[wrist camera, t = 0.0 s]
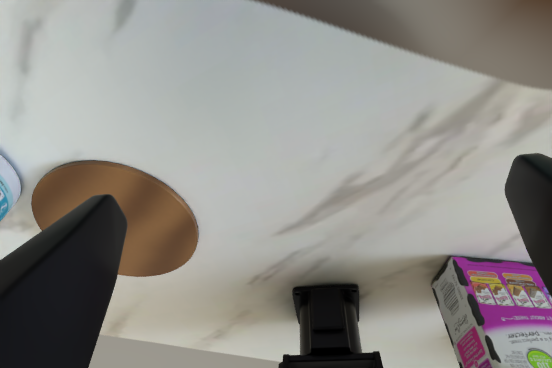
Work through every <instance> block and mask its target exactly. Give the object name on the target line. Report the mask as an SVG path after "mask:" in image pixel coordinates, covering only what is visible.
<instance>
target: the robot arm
mask: <svg viewBox="0 0 552 368" xmlns="http://www.w3.org/2000/svg"><path fill="white" fill-rule="evenodd" d="M505 195H506V198H507V201H508V203H509V206H510V208H511V211H512V214H513V216H514V219H515V221H516V224H517V226H518V229H519V231H520V234H521V237H522V239H523V242H524V244H525V247H526V249H527V251H528V254H529V256H530V258H531V260H532V262H533V264H534V266H535V268H536V270H537V272H538V274H539V275H540V277H541V279H542V281H543V283H544V285H545V287H546V288H547V290H548V292H549V294H550V296H551V298H552V158H550V157H548V156H545V155H543V154H539V153H534V154H523V155H519V156H517V157H516V158H515V159H514V161H513V163H512V166H511V169H510V172H509V175H508V178H507V181H506V184H505ZM127 227H128V223H127V218H126V216H125V214H124V213H123V211H122V209H121V208H120V206H119V204H118V202H117V201H116V199H115V198H114V196H112V195H111V194H101V195H94V196H92V197H90V198H89V199H87V200H86V201H84V202H83V203H82V204H80V205H79V206H77V207H76V208H74V209H73V210H72V211H70V212H69V213H67V214H66V215H64V216H63V217H62V218H60V219H59V220H57V221H56V222H54V223H53V224H52V225H50V226H49V227H47V228H46V229H44V230H43V231H42V232H40V233H39V234H37V235H36V236H34V237H33V238H32V239H30V240H29V241H27V242H26V243H24V244H23V245H22V246H20V247H19V248H17V249H16V250H14V251H13V252H11V253H10V254H9V255H7V256H6V257H4V258H3V259H1V260H0V368H88V367H89V364H90V361H91V358H92V354H93V351H94V348H95V345H96V342H97V339H98V336H99V333H100V330H101V327H102V324H103V321H104V318H105V315H106V312H107V309H108V305H109V302H110V299H111V296H112V293H113V290H114V287H115V283H116V279H117V275H118V270H119V266H120V261H121V256H122V251H123V247H124V242H125V237H126V232H127ZM293 299H294V304H295V308H296V313H297V318H298V323H299V324H300V355H289V354H285V355H283V362H281V363H280V364H279V368H383V365H382V361H381V357H380V353H379V351H374V352H373V353H362V349H361V343H360V336H359V329H358V323H357V322H359V288H358V286H357V285H337V286H320V287H302V288H294V289H293Z"/></svg>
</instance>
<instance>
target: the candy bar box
mask: <svg viewBox="0 0 552 368" xmlns="http://www.w3.org/2000/svg"><path fill="white" fill-rule="evenodd" d="M431 287H432V290H433V293H434V295H435V298H436V301H437V304H438V307H439V309H440V312H441V315H442V318H443V320H444V323H445V326H446V329H447V332H448V335H449V337H450V340H451V343H452V345H453V348H454V351H455V355H456V357H457V360H458V363H459V365H460V368H552V298H551V296H550V294H549V292H548V290H547V288H546V287H545V285H544V283H543V281H542V279H541V277H540V275H539V274H538V272H537V270H536V268H535V266H534V264H532V263H521V262H510V261H498V260H487V259H475V258H464V257H453V256H452V257H450V259H449V260H448V261H447V263H446V264H445V266H444V268H443V269H442V270H441V272H440V273H439V274H438V276H437V277H436V278H435V280H434V282H433V283H432V285H431Z"/></svg>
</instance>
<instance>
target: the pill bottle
mask: <svg viewBox="0 0 552 368" xmlns="http://www.w3.org/2000/svg"><path fill="white" fill-rule="evenodd" d="M20 192H21V184H20V180H19V178H18V175H17V174H16V172H15V170H14V169H13V167H12V166H11V165H10V164H9V163H8V161H7V160H6V159H5V158H3V157H2V156H1V155H0V221H1V220H2V219H3V217H4V216H5V215H6V214H7V213H8V212H9V210H10V209H11V208H12V207H13V205H14V204H15V203H16V202H17V200H18V198H19V196H20Z"/></svg>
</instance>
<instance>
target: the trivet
mask: <svg viewBox="0 0 552 368" xmlns="http://www.w3.org/2000/svg"><path fill="white" fill-rule="evenodd" d="M101 194H111V195H112V196H114V198H115V199H116V201H117V202H118V204H119V206H120V208H121V209H122V211H123V213H124V214H125V216H126V218H127V223H128V227H127V232H126V237H125V242H124V247H123V251H122V256H121V261H120V266H119V270H118V275H125V276H136V277H146V276H155V275H161V274H165V273H168V272H171V271H173V270H175V269H177V268H179V267H181V266H182V265H184V264H185V263H186V262H187V261H188V260H189V259H190V258H191V257H192V255H193V253H194V251H195V249H196V246H197V242H198V226H197V223H196V219H195V217H194V215H193V213H192V211H191V210H190V208H189V207H188V205H187V204H186V203H185V202H184V201H183V199H182V198H181V197H180V196H179V195H178V194H177V193H176V192H174V191H173V190H172V189H171V188H169V187H168V186H167V185H165V184H164V183H163V182H161V181H159V180H158V179H156V178H154V177H152V176H150V175H148V174H146V173H144V172H142V171H139V170H137V169H134V168H131V167H128V166H124V165H121V164H116V163H111V162H104V161H79V162H72V163H69V164H65V165H62V166H59V167H57V168H55V169H53V170H52V171H50V172H49V173H47V174H46V175H45V176H44V177H43V178H42V179H41V180H40V181H39V183H38V184H37V186H36V187H35V189H34V192H33V195H32V211H33V215H34V218H35V220H36V222H37V224H38V226H39V227H40V229H41V230H42V231H43V230H44V229H46V228H47V227H49V226H50V225H52V224H53V223H54V222H56V221H57V220H59V219H60V218H62V217H63V216H64V215H66V214H67V213H69V212H70V211H72V210H73V209H74V208H76V207H77V206H79V205H80V204H82V203H83V202H84V201H86V200H87V199H89V198H90V197H92V196H94V195H101Z"/></svg>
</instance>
